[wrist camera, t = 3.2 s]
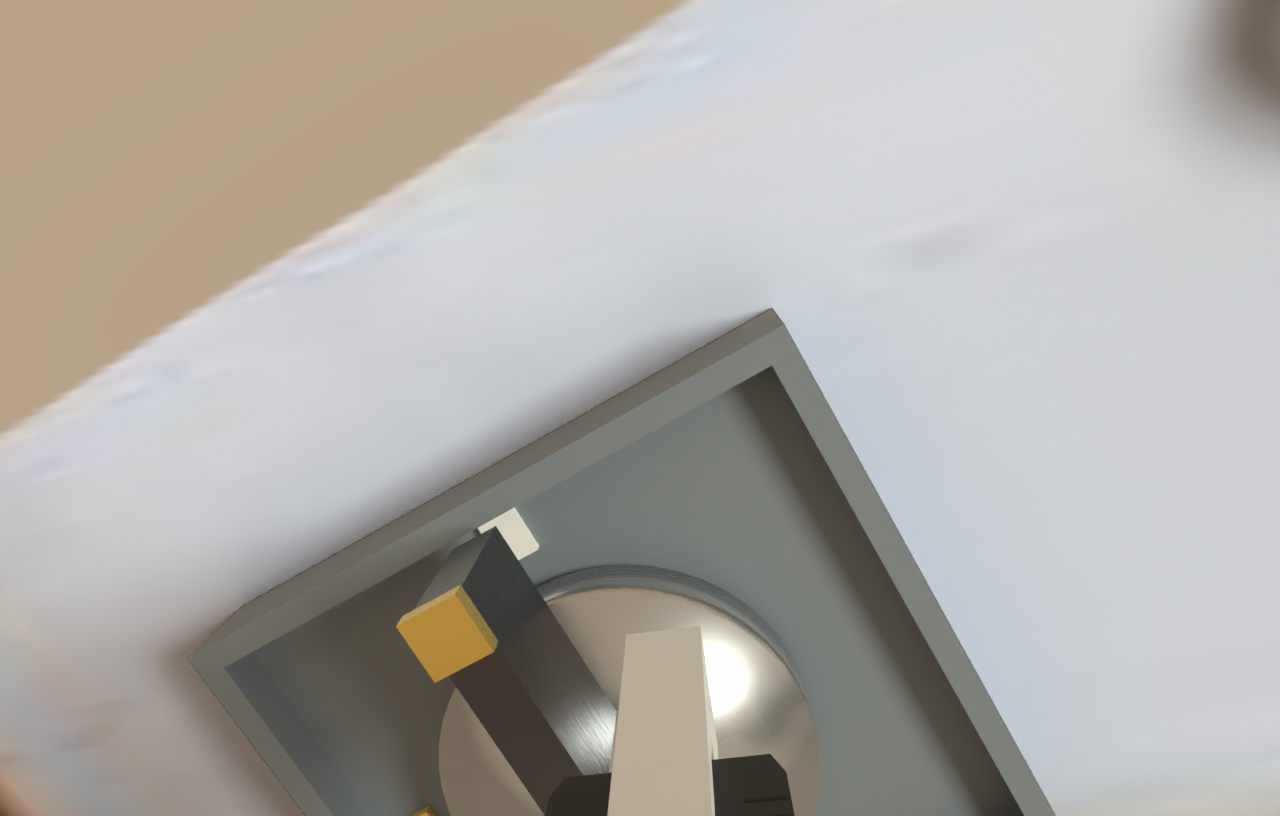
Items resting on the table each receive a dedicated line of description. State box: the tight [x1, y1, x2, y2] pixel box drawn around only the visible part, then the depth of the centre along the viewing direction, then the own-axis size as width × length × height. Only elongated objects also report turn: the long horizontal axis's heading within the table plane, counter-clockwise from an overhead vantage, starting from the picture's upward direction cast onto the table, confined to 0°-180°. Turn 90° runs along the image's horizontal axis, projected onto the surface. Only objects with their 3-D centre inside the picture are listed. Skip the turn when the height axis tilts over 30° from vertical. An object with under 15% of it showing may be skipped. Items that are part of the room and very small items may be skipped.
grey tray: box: [187, 308, 1056, 816], centre depth 28 cm, size 18×20×3 cm
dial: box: [396, 526, 821, 816], centre depth 24 cm, size 14×11×6 cm
